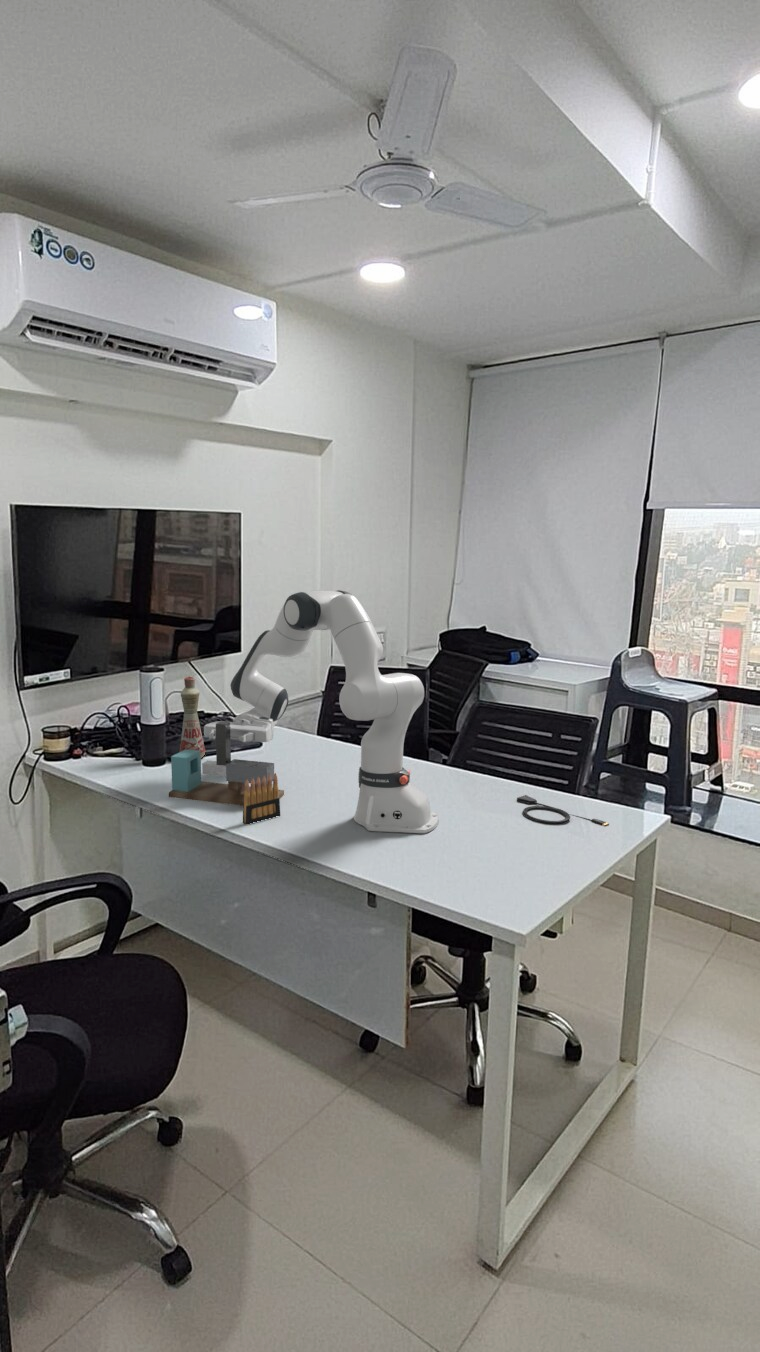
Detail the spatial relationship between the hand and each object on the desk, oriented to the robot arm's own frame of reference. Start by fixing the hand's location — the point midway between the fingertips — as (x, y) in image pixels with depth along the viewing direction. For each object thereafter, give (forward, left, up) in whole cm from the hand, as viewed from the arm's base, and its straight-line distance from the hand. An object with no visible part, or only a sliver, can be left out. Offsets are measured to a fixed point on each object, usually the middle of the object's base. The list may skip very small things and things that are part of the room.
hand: (226, 737), depth 223 cm
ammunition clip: (-18, +16, -17) cm, 29 cm away
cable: (-91, -11, -18) cm, 94 cm away
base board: (-1, +2, -17) cm, 17 cm away
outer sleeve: (-8, +2, -11) cm, 14 cm away
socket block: (+12, +2, -15) cm, 20 cm away
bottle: (+28, -30, -17) cm, 45 cm away
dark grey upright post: (-3, +2, -10) cm, 11 cm away
